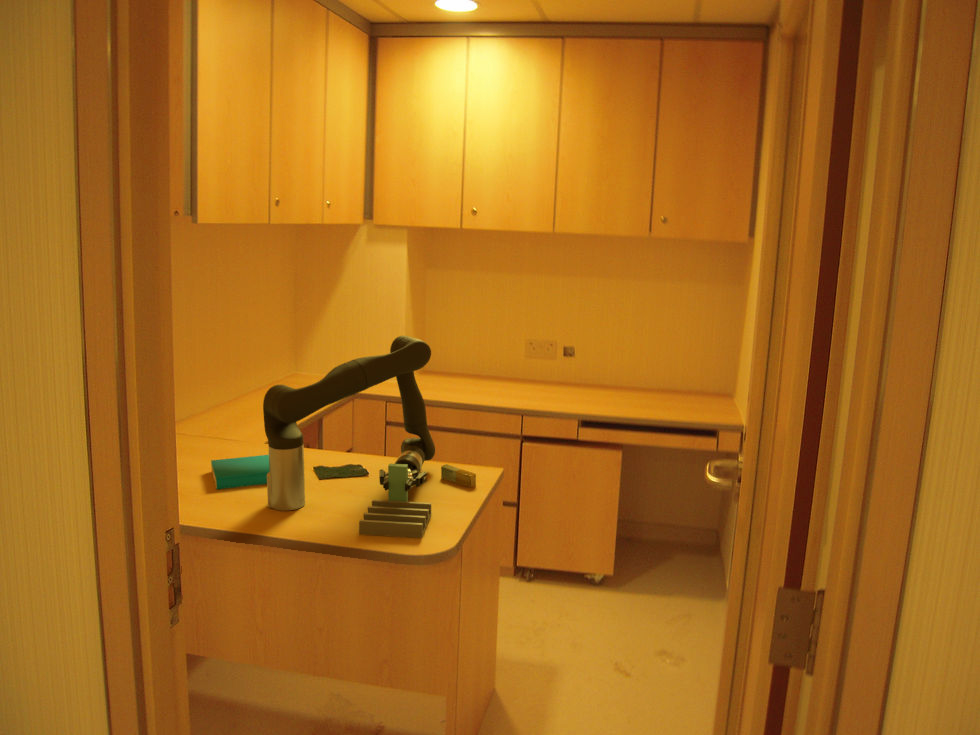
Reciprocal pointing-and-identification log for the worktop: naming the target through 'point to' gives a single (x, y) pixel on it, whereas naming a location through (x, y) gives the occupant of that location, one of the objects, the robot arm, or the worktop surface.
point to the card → (397, 482)
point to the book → (240, 471)
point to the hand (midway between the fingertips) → (396, 487)
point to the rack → (396, 518)
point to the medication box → (458, 475)
